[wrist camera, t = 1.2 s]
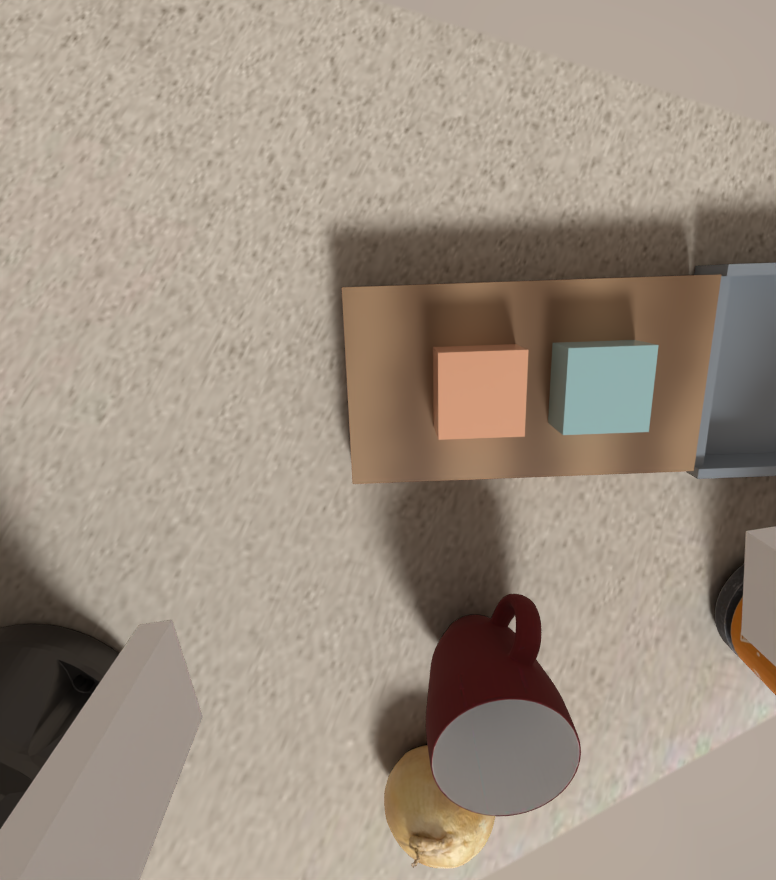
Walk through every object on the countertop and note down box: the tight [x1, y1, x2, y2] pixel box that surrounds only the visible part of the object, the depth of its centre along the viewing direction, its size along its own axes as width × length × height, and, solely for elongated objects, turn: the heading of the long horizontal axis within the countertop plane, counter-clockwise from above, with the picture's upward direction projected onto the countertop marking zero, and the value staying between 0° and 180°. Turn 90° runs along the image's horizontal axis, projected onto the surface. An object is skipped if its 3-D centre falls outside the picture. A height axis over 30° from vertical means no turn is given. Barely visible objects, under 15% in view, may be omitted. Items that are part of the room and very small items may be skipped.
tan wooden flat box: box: [342, 274, 722, 484], centre depth 31 cm, size 20×11×3 cm, turn 92°
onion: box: [384, 745, 495, 868], centre depth 38 cm, size 8×8×7 cm
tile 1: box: [548, 340, 659, 435], centre depth 28 cm, size 4×4×2 cm
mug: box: [426, 594, 581, 816], centre depth 32 cm, size 11×8×10 cm
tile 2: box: [433, 344, 528, 440], centre depth 28 cm, size 4×4×2 cm
